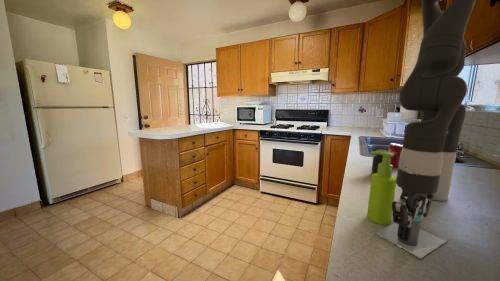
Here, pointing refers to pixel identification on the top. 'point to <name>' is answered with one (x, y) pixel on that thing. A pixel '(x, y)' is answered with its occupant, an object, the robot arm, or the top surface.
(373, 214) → the soap dispenser
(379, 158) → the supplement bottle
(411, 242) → the marker
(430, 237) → the notepad
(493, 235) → the top surface
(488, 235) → the top surface
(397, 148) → the soda can
